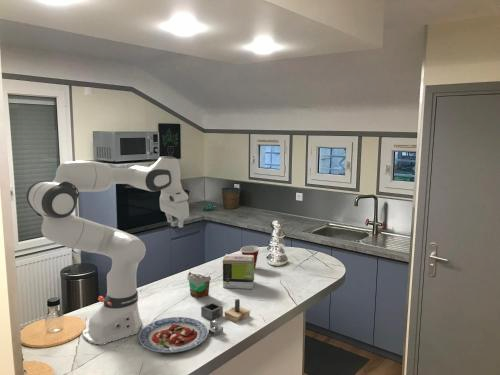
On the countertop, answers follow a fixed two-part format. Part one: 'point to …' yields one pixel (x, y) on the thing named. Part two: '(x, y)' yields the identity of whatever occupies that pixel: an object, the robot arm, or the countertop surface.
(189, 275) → the food container
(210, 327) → the gray rectangular block
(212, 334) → the silver knob on block
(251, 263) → the tea box
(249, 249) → the plastic cup
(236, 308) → the keeper
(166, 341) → the ceramic plate
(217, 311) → the grey square ring
